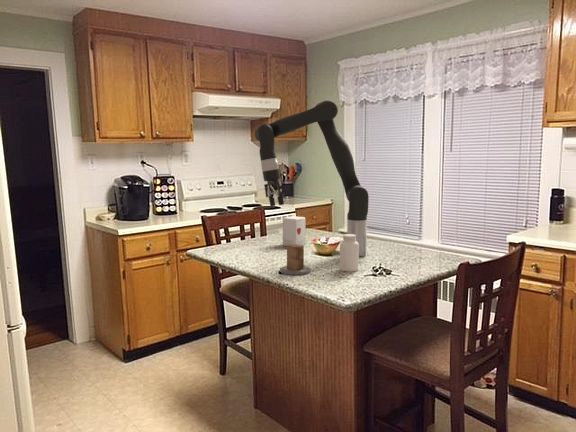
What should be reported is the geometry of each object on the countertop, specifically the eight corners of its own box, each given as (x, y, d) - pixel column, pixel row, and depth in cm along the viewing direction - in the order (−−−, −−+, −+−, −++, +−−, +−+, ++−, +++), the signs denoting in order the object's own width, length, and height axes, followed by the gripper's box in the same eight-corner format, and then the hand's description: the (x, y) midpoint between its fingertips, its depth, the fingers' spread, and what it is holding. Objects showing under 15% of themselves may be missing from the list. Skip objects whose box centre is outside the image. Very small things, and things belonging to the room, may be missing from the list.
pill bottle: (353, 273, 198) (354, 237, 196) (336, 270, 202) (336, 235, 200) (361, 268, 205) (362, 234, 203) (344, 266, 209) (344, 232, 207)
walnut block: (295, 266, 205) (295, 243, 204) (303, 268, 201) (303, 245, 200) (286, 268, 202) (286, 245, 200) (295, 271, 198) (295, 247, 197)
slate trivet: (312, 268, 206) (312, 265, 206) (307, 276, 194) (307, 273, 194) (283, 266, 209) (283, 264, 209) (276, 274, 197) (276, 272, 196)
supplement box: (295, 247, 248) (295, 219, 246) (282, 245, 253) (282, 217, 251) (306, 244, 255) (306, 217, 253) (292, 242, 260) (292, 215, 258)
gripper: (285, 166, 208) (291, 203, 209) (271, 170, 221) (277, 205, 222) (270, 168, 205) (276, 206, 206) (256, 172, 217) (262, 207, 218)
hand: (277, 205), depth 214 cm, fingers open, 8 cm apart
